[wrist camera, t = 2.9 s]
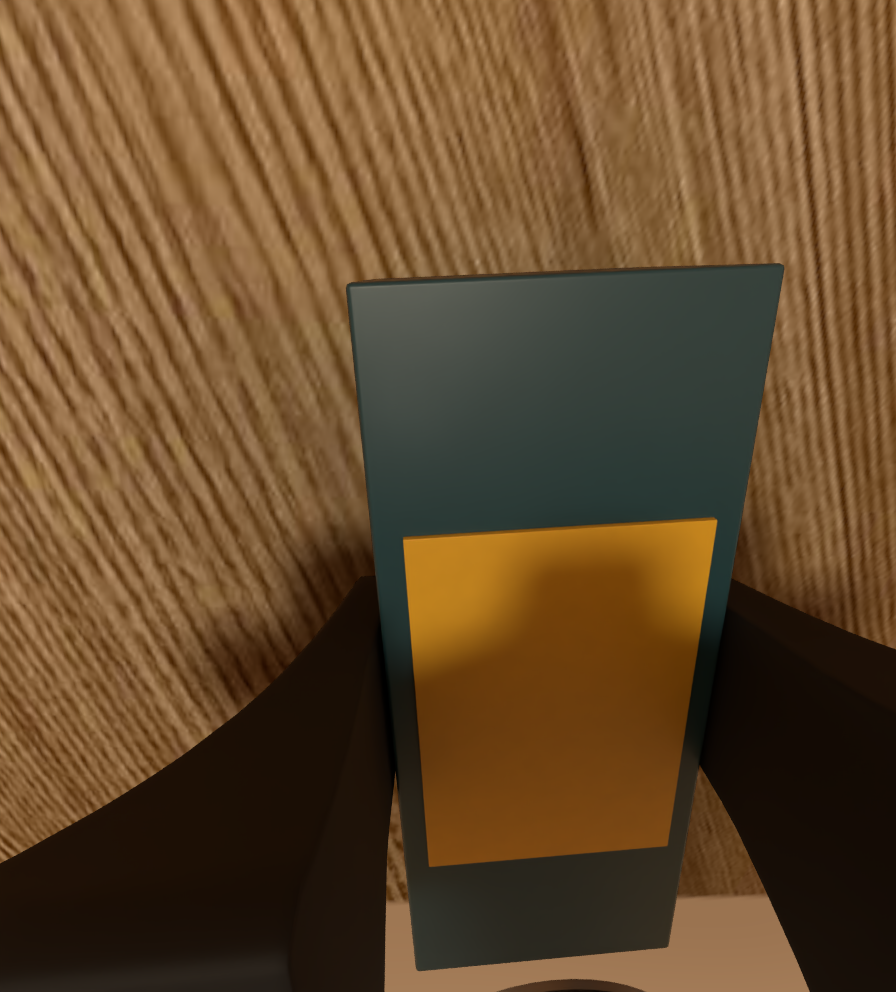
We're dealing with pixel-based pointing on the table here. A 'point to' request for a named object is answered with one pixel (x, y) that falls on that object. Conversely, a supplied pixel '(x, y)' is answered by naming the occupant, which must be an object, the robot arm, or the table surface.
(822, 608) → the table surface
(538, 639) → the packet
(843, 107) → the table surface
